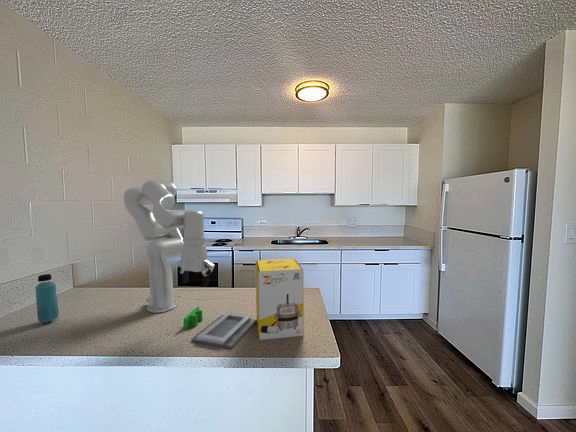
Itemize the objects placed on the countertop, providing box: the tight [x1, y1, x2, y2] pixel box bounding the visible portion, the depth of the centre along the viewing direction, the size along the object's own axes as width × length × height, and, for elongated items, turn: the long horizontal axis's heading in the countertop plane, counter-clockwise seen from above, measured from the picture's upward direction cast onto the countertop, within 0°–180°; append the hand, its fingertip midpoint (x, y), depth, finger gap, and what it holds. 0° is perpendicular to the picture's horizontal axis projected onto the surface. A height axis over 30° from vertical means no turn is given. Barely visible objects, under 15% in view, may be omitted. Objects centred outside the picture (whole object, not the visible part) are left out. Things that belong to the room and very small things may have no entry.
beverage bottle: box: [34, 273, 60, 323], centre depth 109 cm, size 6×7×20 cm
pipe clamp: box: [183, 306, 203, 331], centre depth 108 cm, size 11×4×5 cm, turn 173°
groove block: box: [190, 312, 257, 350], centre depth 101 cm, size 16×20×2 cm
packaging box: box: [255, 258, 304, 341], centre depth 103 cm, size 16×16×25 cm
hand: (195, 284), depth 107 cm, fingers open, 9 cm apart
